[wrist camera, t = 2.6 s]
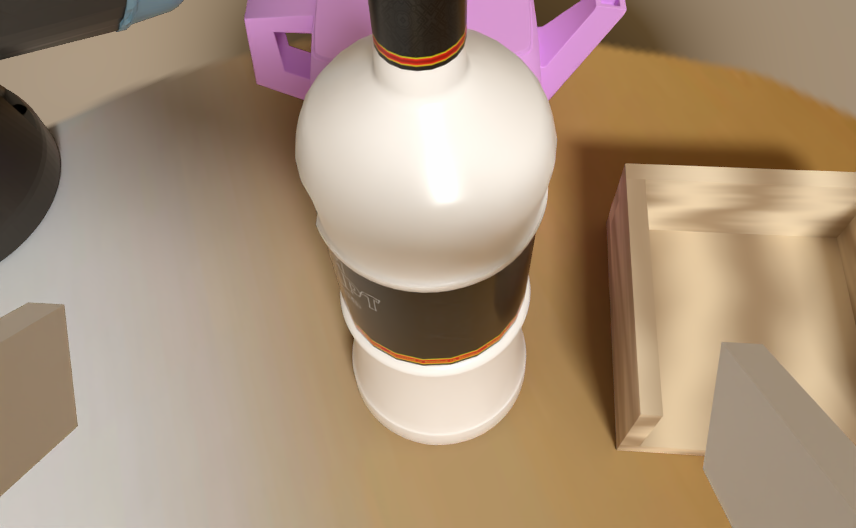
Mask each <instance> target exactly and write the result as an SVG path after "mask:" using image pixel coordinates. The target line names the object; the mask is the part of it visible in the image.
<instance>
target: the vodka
mask: <svg viewBox="0 0 856 528" xmlns="http://www.w3.org/2000/svg"><path fill="white" fill-rule="evenodd" d="M368 6H369V13H370V21H371V28H372V34H371V35H368V36H366V37H364V38H361V39H359V40H358V41H356V42H355V43H353V44H352V45H350V46H349V47H347V48H346V49H344V50H343V51H341V52H340V53H339V54H338V55H337V56H336V57H335V58H334V59H333V60H332V61H331V62H330V63H329V64H328V65H327V66H326V67H325V68H324V69H323V70H322V71H321V72H320V74H319V75H318V76H317V77H316V79H315V81H314V82H313V84H312V85H311V87H310V89H309V90H308V92H307V93H306V95H305V98H304V102H303V105H302V108H301V111H300V115H299V118H298V123H297V129H296V142H295V160H296V164H297V168H298V171H299V175H300V179H301V182H302V184H303V186H304V187H305V189H306V191H307V192H308V194H309V196H310V198H311V199H312V201H313V203H314V206H315V209H316V212H317V220H316V227H317V229H318V231H319V233H320V235H321V237H322V238H323V240H324V241H325V243H326V245H327V248H328V251H329V254H330V258H331V261H332V264H333V267H334V271H335V274H336V277H337V280H338V284H339V287H340V302H341V308H342V313H343V316H344V319H345V322H346V324H347V326H348V328H349V330H350V332H351V334H352V335H353V337H354V342H353V350H352V361H353V370H354V374H355V378H356V382H357V386H358V389H359V392H360V395H361V397H362V399H363V401H364V403H365V404H366V406H367V408H368V409H369V411H370V412H371V413H372V414H373V416H374V417H375V418H376V419H377V420H378V421H379V422H380V423H381V424H383V425H384V426H385V427H386V428H388V429H389V430H391V431H392V432H394V433H396V434H397V435H399V436H401V437H404V438H406V439H409V440H412V441H415V442H418V443H423V444H431V445H448V444H455V443H460V442H464V441H467V440H470V439H473V438H475V437H477V436H479V435H481V434H483V433H485V432H487V431H488V430H490V429H491V428H493V427H494V426H495V425H496V424H497V423H499V422H500V421H501V420H502V419H503V418H504V416H505V415H506V414H507V413H508V412H509V410H510V409H511V408H512V406H513V404H514V403H515V401H516V399H517V397H518V395H519V393H520V390H521V387H522V384H523V380H524V374H525V365H526V345H525V339H524V335H523V332H522V329H521V327H522V325H523V323H524V320H525V318H526V315H527V312H528V308H529V303H530V280H529V269H530V263H531V257H532V251H533V246H534V240H535V234H536V231H537V229H538V227H539V225H540V223H541V221H542V218H543V215H544V212H545V209H546V204H547V197H548V184H549V182H550V179H551V176H552V173H553V168H554V164H555V156H556V146H557V135H556V130H555V125H554V120H553V115H552V111H551V108H550V104H549V102H548V99H547V96H546V94H545V92H544V90H543V88H542V86H541V84H540V82H539V80H538V78H537V77H536V76H535V74H534V73H533V72H532V71H531V70H530V69H529V67H528V66H527V65H526V64H525V63H524V62H523V60H522V59H520V58H519V57H518V56H517V55H516V54H514V53H513V52H512V51H510V50H509V49H508V48H506V47H505V46H504V45H502V44H501V43H499V42H498V41H497V40H495V39H492V38H490V37H488V36H486V35H484V34H482V33H479V32H477V31H475V30H471V29H467V0H368Z"/></svg>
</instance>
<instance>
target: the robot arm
mask: <svg viewBox="0 0 856 528" xmlns="http://www.w3.org/2000/svg"><path fill="white" fill-rule="evenodd" d="M182 2H183V0H0V60H2V59H6V58H10V57H14V56H18V55H22V54H26V53H30V52H34V51H37V50H42V49H45V48H49V47H54V46H58V45H62V44H66V43H70V42H74V41H77V40H82V39H85V38H90V37H94V36H98V35H102V34H106V33H110V32H113V31H116V32H119V31H123V30H126V29H127V28H129V27H130V25H131V24H134V23H137V22H140V21H143V20H146V19H149V18H152V17H155V16H158V15H161V14H164V13H167V12H169V11H172V10H173V9H175V8H176V7H178V6H179V4H181V3H182ZM59 176H60V158H59V152H58V148H57V145H56V143H55V140H54V138H53V136H52V135H51V133H50V132H49V130H48V129H47V128H46V126H45V125H44V124H43V122H42V121H41V120H40V118H39V117H38V116H37V114H36V113H35V112H34V111H33V109H32V108H31V107H30V106H29V105H28V104H27V103H26V102H24V101H23V100H22V99H21V98H20V97H18V96H17V95H15V94H14V93H12V92H11V91H9V90H7V89H6V88H4V87H3V86H1V85H0V261H2V260H3V259H5V258H6V257H7V256H8V255H10V254H11V253H12V252H13V251H14V250H16V249H17V248H18V247H19V246H20V245H21V244H22V243H23V242H24V241H25V240H26V239H27V238H28V237H29V236H30V235H31V233H32V232H33V231H34V230H35V229H36V227H37V226H38V225H39V223H40V222H41V220H42V219H43V217H44V216H45V214H46V212H47V211H48V209H49V207H50V205H51V203H52V201H53V198H54V196H55V193H56V190H57V186H58V182H59ZM77 426H78V424H77V415H76V406H75V397H74V388H73V379H72V370H71V361H70V352H69V343H68V334H67V325H66V316H65V307H64V305H63V304H45V303H27V304H25V305H23V306H21V307H19V308H17V309H16V310H14V311H12V312H10V313H8V314H6V315H5V316H3V317H1V318H0V496H1V495H3V494H4V493H5V492H6V491H7V490H8V489H9V488H10V487H11V486H12V485H14V484H15V483H16V482H17V481H18V480H19V479H20V478H21V477H22V476H23V475H24V474H26V473H27V472H28V471H29V470H30V469H31V468H32V467H33V466H34V465H35V464H37V463H38V462H39V461H40V460H41V459H42V458H43V457H44V456H45V455H46V454H48V453H49V452H50V451H51V450H52V449H53V448H54V447H55V446H56V445H57V444H59V443H60V442H61V441H62V440H63V439H64V438H65V437H66V436H67V435H68V434H70V433H71V432H72V431H73V430H74V429H75V428H76V427H77ZM703 470H704V472H705V474H706V476H707V478H708V480H709V482H710V484H711V486H712V488H713V490H714V492H715V494H716V496H717V498H718V500H719V502H720V504H721V506H722V508H723V510H724V512H725V514H726V516H727V518H728V520H729V522H730V524H731V526H732V528H856V446H855V445H854V444H853V442H852V441H851V440H850V439H849V438H848V437H847V436H846V435H845V434H844V433H843V431H842V430H841V429H840V428H839V427H838V426H837V425H836V424H835V423H834V422H833V421H832V419H831V418H830V417H829V416H828V415H827V414H826V413H825V412H824V411H823V410H822V409H821V407H820V406H819V405H818V404H817V403H816V402H815V401H814V400H813V399H812V398H811V397H810V395H809V394H808V393H807V392H806V391H805V390H804V389H803V388H802V387H801V386H800V384H799V383H798V382H797V381H796V380H795V379H794V378H793V377H792V376H791V375H790V374H789V372H788V371H787V370H786V369H785V368H784V367H783V366H782V365H781V364H780V363H779V362H778V360H777V359H776V358H775V357H774V356H773V355H772V354H771V353H770V352H769V351H768V349H767V348H766V347H765V346H764V345H763V344H751V343H733V342H722V343H721V350H720V356H719V363H718V370H717V377H716V383H715V390H714V397H713V404H712V411H711V417H710V424H709V431H708V438H707V444H706V451H705V458H704V465H703Z"/></svg>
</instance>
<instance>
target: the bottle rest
mask: <svg viewBox="0 0 856 528" xmlns="http://www.w3.org/2000/svg"><path fill="white" fill-rule="evenodd" d="M606 225H607V248H608V270H609V293H610V315H611V338H612V360H613V383H614V406H615V428H616V450H624V451H639V452H654V453H670V454H685V455H700V456H705V451H706V444H707V438H708V431H709V424H710V417H711V411H712V404H713V397H714V390H715V383H716V377H717V370H718V363H719V356H720V350H721V343H722V342H733V343H751V344H763V345H764V346H765V347H766V348H767V349H768V351H769V352H770V353H771V354H772V355H773V356H774V357H775V358H776V359H777V360H778V362H779V363H780V364H781V365H782V366H783V367H784V368H785V369H786V370H787V371H788V372H789V374H790V375H791V376H792V377H793V378H794V379H795V380H796V381H797V382H798V383H799V384H800V386H801V387H802V388H803V389H804V390H805V391H806V392H807V393H808V394H809V395H810V397H811V398H812V399H813V400H814V401H815V402H816V403H817V404H818V405H819V406H820V407H821V409H822V410H823V411H824V412H825V413H826V414H827V415H828V416H829V417H830V418H831V419H832V421H833V422H834V423H835V424H836V425H837V426H838V427H839V428H840V429H841V430H842V431H843V433H844V434H845V435H846V436H847V437H848V438H849V439H850V440H851V441H852V442H853V444H854V445H855V446H856V172H833V171H808V170H782V169H757V168H731V167H705V166H680V165H654V164H629V163H625V166H624V169H623V172H622V175H621V178H620V181H619V185H618V188H617V191H616V194H615V197H614V200H613V203H612V206H611V210H610V213H609V216H608V219H607V222H606Z"/></svg>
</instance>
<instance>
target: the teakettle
mask: <svg viewBox="0 0 856 528" xmlns="http://www.w3.org/2000/svg"><path fill="white" fill-rule="evenodd" d="M625 12H626V4H625V0H581V1H580V2H578V3H577V4H575V5H574V6H572V7H571V8H569V9H568V10H566V11H565V12H563V13H562V14H560V15H559V16H557V17H556V18H555V19H553V20H552V21H550V22H549V23H547V24H546V25H544V26H542V27H537V22H536V14H535V7H534V1H533V0H467V29H471V30H475V31H477V32H479V33H482V34H484V35H486V36H488V37H490V38H492V39H495V40H497V41H498V42H499V43H501V44H502V45H504V46H505V47H506V48H508V49H509V50H510V51H512V52H513V53H514V54H516V55H517V56H518V57H519V58H520V59H522V60H523V62H524V63H525V64H526V65H527V66H528V67H529V69H530V70H531V71H532V72H533V73H534V74H535V76H536V77H537V78H538V80H539V82H540V84H541V86H542V88H543V90H544V92H545V94H546V96H547V99H548V101H549V100H550V98H551V97H552V96H553V95H554V94H555V93H556V92H557V90H558V89H559V88H560V87H561V86H562V85H563V84H564V82H565V81H566V80H567V79H568V78H569V77H570V76H571V74H572V73H573V72H574V71H575V70H576V69H577V68H578V66H579V65H580V64H581V63H582V62H583V61H584V60H585V58H586V57H587V56H588V55H589V54H590V53H591V52H592V50H593V49H594V48H595V47H596V46H597V45H598V44H599V42H600V41H601V40H602V39H603V38H604V37H605V36H606V34H607V33H608V32H609V31H610V30H611V29H612V27H613V26H614V25H615V24H616V23H617V22H618V21H619V20H620V19H621V17H622V16H623V15H624V14H625ZM244 21H245V26H246V31H247V36H248V42H249V47H250V52H251V57H252V62H253V67H254V73H255V78H256V83H257V84H258V85H261V86H264V87H267V88H270V89H273V90H276V91H279V92H282V93H285V94H288V95H290V96H293V97H296V98H299V99H302V100H304V98H305V95H306V93H307V92H308V90H309V89H310V87H311V85H312V84H313V82H314V81H315V79H316V77H317V76H318V75H319V74H320V72H321V71H322V70H323V69H324V68H325V67H326V66H327V65H328V64H329V63H330V62H331V61H332V60H333V59H334V58H335V57H336V56H337V55H338V54H339V53H340V52H341V51H343V50H344V49H346V48H347V47H349V46H350V45H352V44H353V43H355V42H356V41H358V40H359V39H361V38H364V37H366V36H368V35H371V34H372V28H371V21H370V13H369V6H368V0H248V2H247V7H246V12H245V18H244ZM286 33H310V34H312V42H311V53H310V52H307V51H304V50H301V49H298V48H295V47H292V46H289V44H288V41H287V37H286Z"/></svg>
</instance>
